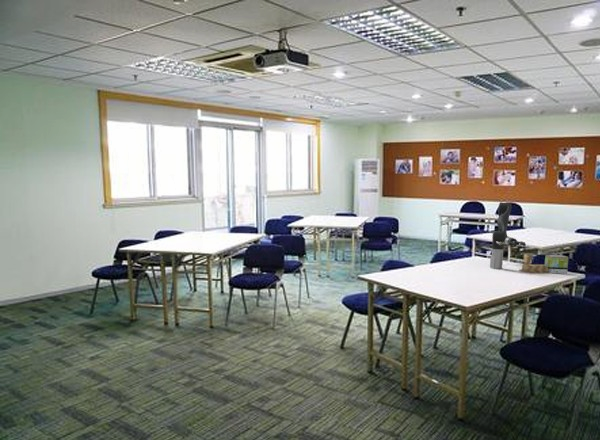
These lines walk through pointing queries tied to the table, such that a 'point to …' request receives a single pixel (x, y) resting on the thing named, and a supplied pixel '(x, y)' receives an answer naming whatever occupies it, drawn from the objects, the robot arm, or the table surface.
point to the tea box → (556, 263)
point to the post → (527, 259)
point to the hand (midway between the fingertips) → (520, 245)
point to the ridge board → (534, 268)
